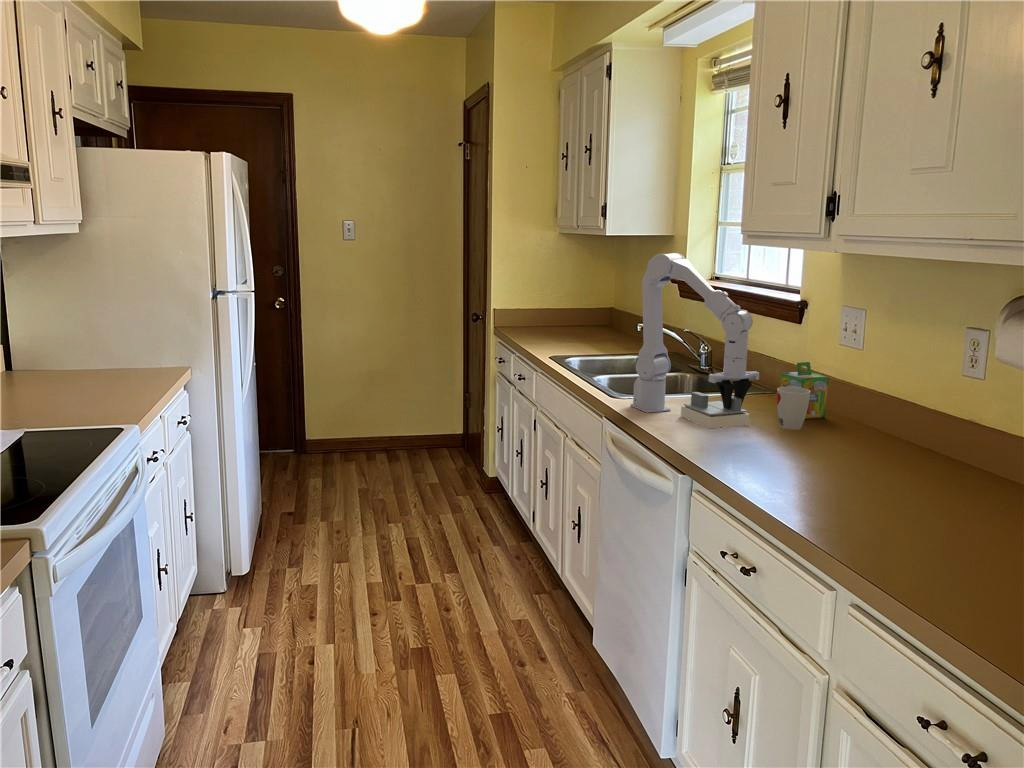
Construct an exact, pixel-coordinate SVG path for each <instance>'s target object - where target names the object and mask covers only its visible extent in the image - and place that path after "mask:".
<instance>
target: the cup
mask: <svg viewBox="0 0 1024 768" xmlns="http://www.w3.org/2000/svg"><path fill="white" fill-rule="evenodd" d="M776 390H777V392H776V397H777V398H776V407H777V409H776V410H777V417H778V421H779V425H780V428H781V427H782V429H785V430H793V431H795V430H796V431H797V430H801V429H802V427H803V424H804V422H805V420H806V419H805V416H806V413H807V409H808V404H809V397H810V390H808V389H804V388H798V387H781V386H780V387H777V389H776Z"/></svg>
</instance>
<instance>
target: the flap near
mask: <svg viewBox="0 0 1024 768" xmlns="http://www.w3.org/2000/svg"><path fill="white" fill-rule="evenodd" d="M708 402H709V395H708V394H705V393H702V392H699V391H691V396H690V403H683V406H687V407H689V408H692V409H695V410H697V411H700V412H702V413H705V414H707V415H721V414H728V412H726V411H723V410H721V409H718V408H715V407H712V406H710V405H708Z"/></svg>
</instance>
